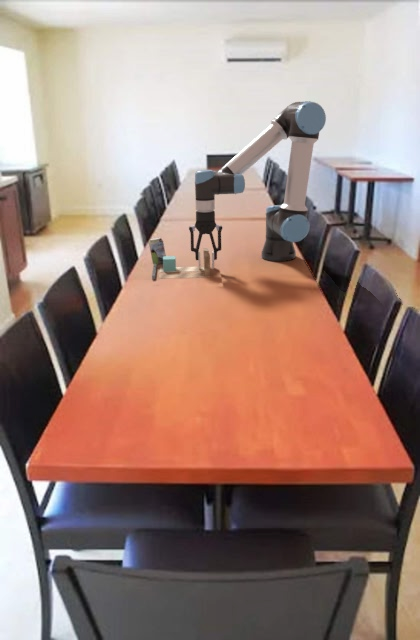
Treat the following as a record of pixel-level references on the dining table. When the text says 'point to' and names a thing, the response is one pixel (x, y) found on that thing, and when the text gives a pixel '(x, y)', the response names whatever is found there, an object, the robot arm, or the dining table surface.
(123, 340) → the dining table surface
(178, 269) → the beige long angled piece
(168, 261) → the block
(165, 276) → the strip oak
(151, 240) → the beverage can
